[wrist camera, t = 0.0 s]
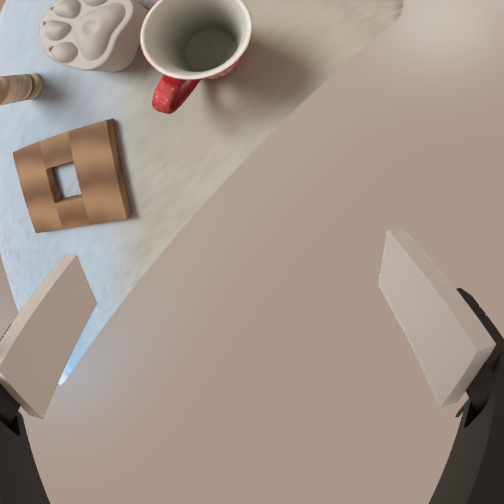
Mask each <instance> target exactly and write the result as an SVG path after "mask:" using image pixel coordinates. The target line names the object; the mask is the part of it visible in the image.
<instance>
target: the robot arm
mask: <svg viewBox="0 0 504 504" xmlns="http://www.w3.org/2000/svg"><path fill="white" fill-rule="evenodd" d="M378 286H379V287H380V289H381V291H382V292H383V294H384V296H385V298H386V299H387V301H388V303H389V305H390V307H391V308H392V311H393V313H394V314H395V316H396V318H397V320H398V322H399V324H400V326H401V327H402V329H403V331H404V333H405V335H406V337H407V339H408V341H409V343H410V345H411V347H412V349H413V351H414V353H415V355H416V357H417V359H418V362H419V363H420V366H421V368H422V370H423V372H424V374H425V376H426V379H427V381H428V383H429V385H430V387H431V390H432V392H433V394H434V397H435V399H436V401H437V403H438V406H439V408H442V407H445V406H447V405H450V404H453V403H455V402H458V400H459V399H460V398H461V396H462V395H463V394H464V392H465V391H466V392H467V394H468V396H469V399H468V400H467V401H466V402H465V404H464V405H463V406H462V407H461V409H460V410H459V411H458V413H457V415H456V417H459V416H460V415H461V413H462V412H463V415H462V418H461V422H460V425H459V428H458V432H457V435H456V438H455V441H454V444H453V447H452V450H451V452H450V456H449V458H448V461H447V463H446V466H445V468H444V471H443V473H442V476H441V478H440V480H439V483H438V485H437V487H436V489H435V491H434V494H433V496H432V498H431V500H430V502H429V504H504V339H503V337H502V336H501V334H500V333H499V331H498V330H497V329H496V327H495V326H494V324H493V323H492V322H491V320H490V319H489V318H488V316H486V315H485V312H484V311H483V310H482V309H481V308H479V305H478V303H477V302H476V301H475V299H474V298H473V297H472V296H471V295H470V294H468V293H467V292H466V291H464V290H463V289H461V288H458V289H455V287H454V286H453V285H452V284H451V282H450V281H449V280H448V279H447V277H446V276H445V275H444V274H443V273H442V271H441V270H440V269H439V268H438V267H437V266H436V264H435V263H434V262H433V261H432V260H431V259H430V257H429V256H428V255H427V254H426V253H425V252H424V251H423V250H422V248H421V247H420V246H419V245H418V244H417V243H416V242H415V241H414V240H413V239H412V238H411V236H410V235H409V234H408V233H407V232H406V231H405V230H404V229H388V230H387V234H386V241H385V247H384V254H383V260H382V266H381V271H380V276H379V282H378ZM96 305H97V302H96V300H95V297H94V295H93V293H92V290H91V288H90V286H89V283H88V281H87V279H86V276H85V274H84V271H83V269H82V266H81V264H80V261H79V258H78V256H77V255H67V256H64V257H63V258H62V259H61V260H60V261H59V263H58V264H57V265H56V266H55V267H54V269H53V270H52V271H51V272H50V274H49V275H48V276H47V277H46V279H45V280H44V281H43V282H42V284H41V285H40V286H39V287H38V289H37V290H36V291H35V293H34V294H33V295H32V297H31V298H30V299H29V301H28V302H27V303H26V305H25V306H24V307H23V309H22V310H21V312H20V313H19V314H18V316H17V317H16V319H15V320H14V322H13V323H12V324H11V325H10V326H9V327H8V329H7V330H6V332H5V333H4V336H3V337H2V338H1V340H0V504H50V502H49V500H48V497H47V495H46V492H45V489H44V487H43V484H42V482H41V479H40V476H39V473H38V470H37V467H36V464H35V461H34V458H33V455H32V451H31V448H30V444H29V441H28V437H27V433H26V429H25V425H24V420H23V417H22V415H21V413H20V412H19V411H18V410H19V407H20V406H21V407H22V408H23V409H24V410H25V411H26V412H27V413H28V414H29V415H32V416H35V417H38V418H41V419H43V418H44V415H45V413H46V410H47V408H48V405H49V403H50V400H51V398H52V396H53V393H54V391H55V389H56V386H57V384H58V382H59V379H60V377H61V375H62V373H63V371H64V368H65V366H66V364H67V362H68V360H69V358H70V356H71V353H72V351H73V349H74V347H75V345H76V343H77V341H78V339H79V337H80V335H81V333H82V331H83V329H84V327H85V326H86V324H87V322H88V320H89V318H90V316H91V314H92V312H93V310H94V309H95V307H96Z"/></svg>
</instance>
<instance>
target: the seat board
mask: <svg viewBox="0 0 504 504" xmlns="http://www.w3.org/2000/svg"><path fill="white" fill-rule="evenodd" d="M13 156H14V160H15V165H16V169H17V173H18V177H19V181H20V184H21V188H22V191H23V195H24V198H25V202H26V205H27V208H28V211H29V214H30V217H31V220H32V223H33V226H34V229H35V232H36V233H41V232H47V231H53V230H59V229H66V228H72V227H79V226H85V225H92V224H99V223H106V222H114V221H121V220H127V219H128V218H129V217H130V216H131V214H132V213H131V209H130V205H129V200H128V196H127V192H126V187H125V183H124V178H123V174H122V169H121V164H120V159H119V154H118V148H117V143H116V137H115V132H114V125H113V119H110V120H106V121H102V122H98V123H95V124H91V125H88V126H85V127H81V128H78V129H75V130H72V131H69V132H65V133H62V134H60V135H57V136H54V137H51V138H48V139H45V140H43V141H40V142H37V143H35V144H32V145H29V146H27V147H24V148H22V149H20V150H17V151H15V152H13ZM72 161H74V165H75V169H76V173H77V178H78V182H79V186H80V189H81V193H82V194H81V195H76V196H71V197H66V198H62V199H61V196H60V192H59V189H58V185H57V181H56V177H55V173H54V169H53V167H54V166H58V165H61V164H65V163H68V162H72Z"/></svg>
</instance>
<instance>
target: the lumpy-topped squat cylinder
mask: <svg viewBox="0 0 504 504" xmlns="http://www.w3.org/2000/svg"><path fill="white" fill-rule="evenodd" d="M148 12H149V10H148V9H146V8H145V7H144V6H142V5H141V4H139V3H138V2H137V1H135V0H56V1H55V2H53V3H52V4H51V5H50V6H49V7H48V8H47V10H46V11H45V13H44V14H43V17H42V19H41V22H40V27H39V37H40V42H41V45H42V47H43V49H44V51H45V53H46V54H47V56H48V57H49V58H50V59H52V60H53V61H55V62H57V63H59V64H61V65H64V66H67V67H71V68H75V69H79V70H85V71H104V72H117V71H120V70H123V69H125V68H127V67H128V66H129V65H130V64H131V63H132V61H133V60H134V57H135V55H136V52H137V50H138V47H139V45H140V32H141V27H142V24H143V21H144V19H145V17H146V15H147V13H148Z"/></svg>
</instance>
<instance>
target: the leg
mask: <svg viewBox="0 0 504 504" xmlns="http://www.w3.org/2000/svg"><path fill="white" fill-rule="evenodd" d="M42 85H43V82H42V78H41V76H40V75H39V74H23V75H12V76H3V77H0V106H1V105H5V104H9V103H14V102H19V101H24V100H29V99H34V98H36V97H37V96H38V95H39V94H40V92H41V89H42Z"/></svg>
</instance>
